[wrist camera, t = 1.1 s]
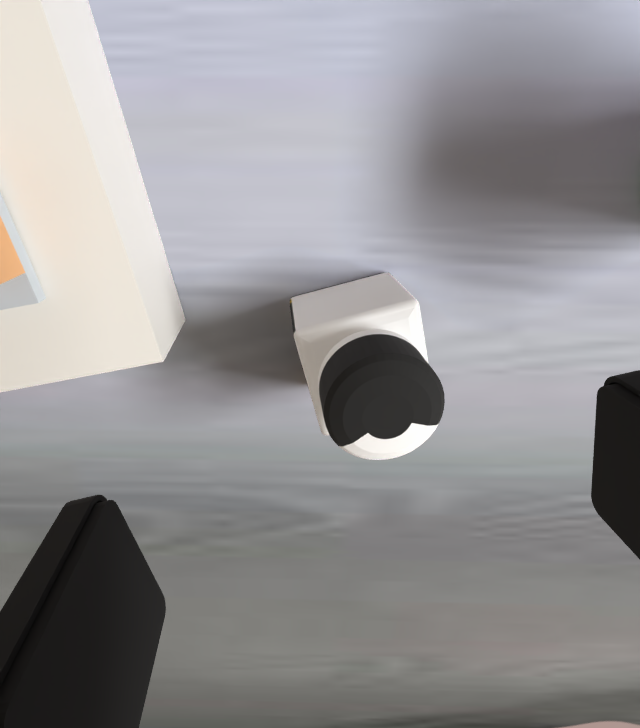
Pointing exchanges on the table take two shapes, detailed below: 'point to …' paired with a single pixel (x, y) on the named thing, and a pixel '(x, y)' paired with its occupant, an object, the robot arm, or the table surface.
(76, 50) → the socket
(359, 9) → the table surface
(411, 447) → the medicine bottle
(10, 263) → the grey tile with orange
